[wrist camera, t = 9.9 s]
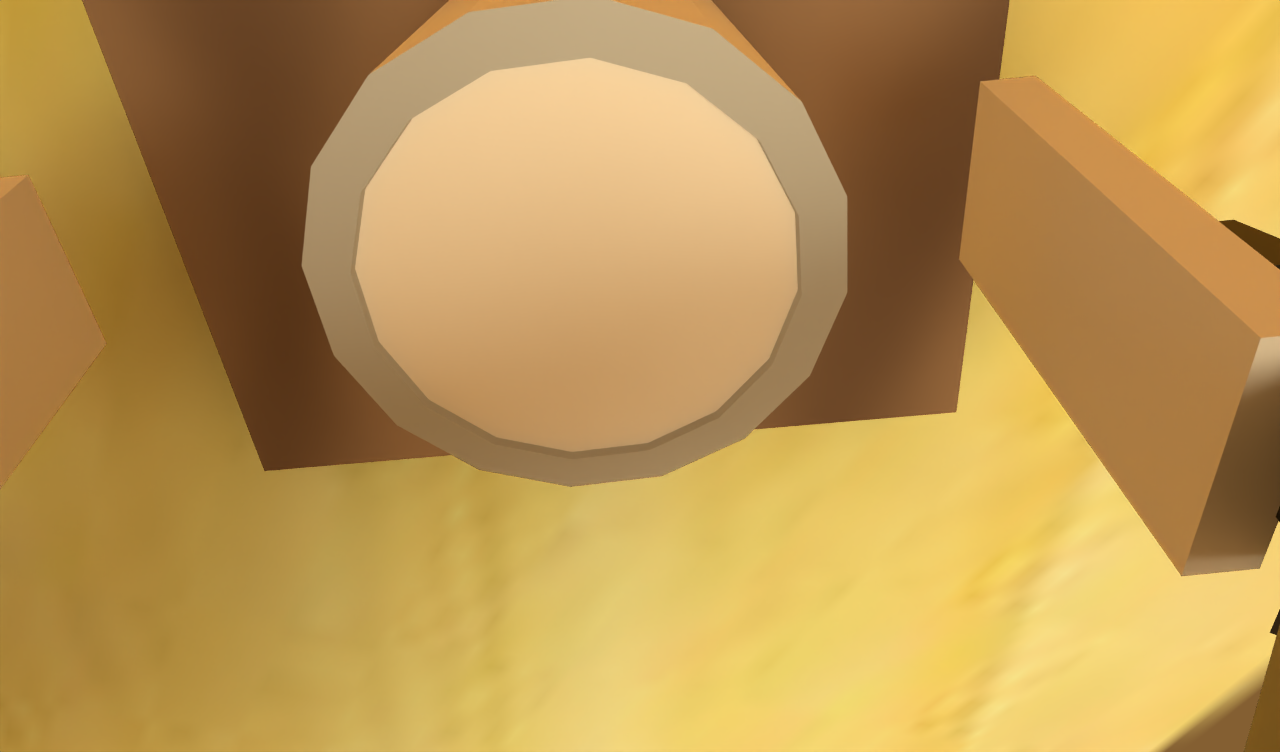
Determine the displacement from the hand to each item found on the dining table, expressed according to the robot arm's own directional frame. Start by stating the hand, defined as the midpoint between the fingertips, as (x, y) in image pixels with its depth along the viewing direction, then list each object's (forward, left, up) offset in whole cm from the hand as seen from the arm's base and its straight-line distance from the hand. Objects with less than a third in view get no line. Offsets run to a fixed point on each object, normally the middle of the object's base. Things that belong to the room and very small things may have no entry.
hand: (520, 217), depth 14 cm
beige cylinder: (+1, 0, -5) cm, 5 cm away
